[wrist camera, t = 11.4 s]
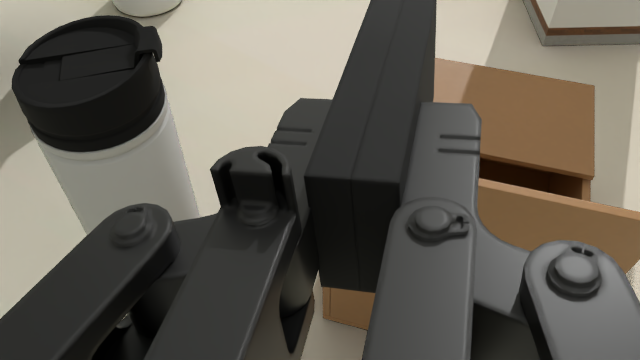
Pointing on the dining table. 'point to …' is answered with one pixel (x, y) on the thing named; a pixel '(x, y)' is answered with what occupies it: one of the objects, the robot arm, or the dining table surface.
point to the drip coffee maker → (585, 21)
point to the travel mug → (105, 118)
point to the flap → (558, 221)
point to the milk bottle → (145, 6)
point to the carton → (508, 144)
